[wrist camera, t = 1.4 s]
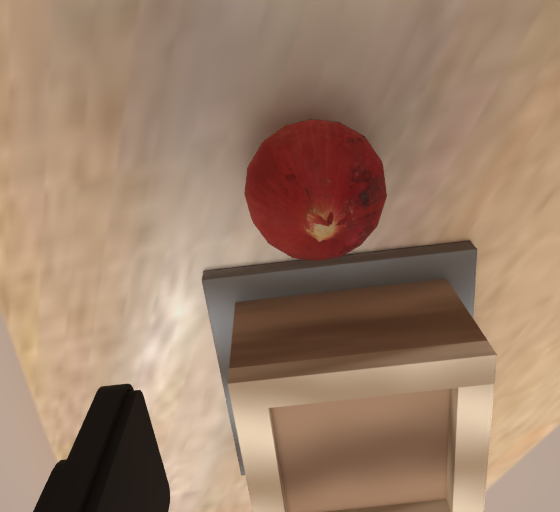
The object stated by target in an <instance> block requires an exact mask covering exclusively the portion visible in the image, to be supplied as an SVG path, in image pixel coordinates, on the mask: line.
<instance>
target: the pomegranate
mask: <svg viewBox="0 0 560 512" xmlns="http://www.w3.org/2000/svg"><path fill="white" fill-rule="evenodd" d="M245 197H246V200H247V204H248V208H249V211H250V215H251V218H252V220H253V223H254V224H255V226H256V227H257V228H258V230H259V231H260V232H261V234H262V235H263V236H264V238H265V239H266V240H267V242H268V243H269V244H271V245H272V246H274V247H275V248H277V249H279V250H280V251H282V252H284V253H285V254H287V255H289V256H291V257H292V258H298V259H304V260H311V261H322V260H327V259H332V258H338V257H341V256H343V255H344V254H346V253H348V252H350V251H351V250H353V249H355V248H357V247H358V246H360V245H361V244H362V243H363V242H364V241H365V240H366V238H367V237H368V236H369V235H370V234H371V233H372V232H373V230H374V229H375V228H376V227H377V225H378V222H379V219H380V216H381V213H382V210H383V206H384V203H385V200H386V197H387V194H386V186H385V178H384V170H383V164H382V161H381V159H380V158H379V157H378V155H377V154H376V152H375V151H374V149H373V148H372V146H371V145H370V144H369V142H368V141H367V139H366V138H365V136H363V135H361V134H359V133H357V132H356V131H354V130H352V129H350V128H348V127H347V126H345V125H343V124H341V123H339V122H331V121H322V120H314V119H310V120H306V121H302V122H298V123H293V124H289V125H285V126H284V127H282V128H281V129H280V130H278V131H277V132H276V133H274V134H273V135H271V136H270V137H269V138H267V139H266V140H265V141H264V142H263V143H262V144H261V146H260V147H259V149H258V151H257V153H256V154H255V156H254V158H253V159H252V161H251V162H250V164H249V166H248V169H247V178H246V186H245Z"/></svg>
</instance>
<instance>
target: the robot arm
mask: <svg viewBox="0 0 560 512" xmlns="http://www.w3.org/2000/svg"><path fill="white" fill-rule="evenodd" d="M169 504H170V488H169V484H168V480H167V477H166V473H165V470H164V466H163V463H162V459H161V456H160V452H159V449H158V445H157V442H156V438H155V434H154V431H153V427H152V424H151V420H150V417H149V413H148V410H147V406H146V403H145V399H144V396H143V393H142V392H141V390H135V391H134V390H133V387H132V386H131V384H121V385H111V386H102V387H100V388H99V389H98V391H97V393H96V395H95V397H94V400H93V402H92V404H91V406H90V409H89V411H88V413H87V415H86V418H85V420H84V422H83V424H82V427H81V429H80V431H79V433H78V436H77V438H76V440H75V442H74V445H73V447H72V449H71V451H70V454H69V456H68V458H67V460H61V461H59V462H58V463H57V464H56V465H55V467H54V469H53V470H52V472H51V474H50V476H49V479H48V481H47V483H46V485H45V487H44V489H43V491H42V494H41V496H40V498H39V500H38V502H37V504H36V507H35V509H34V511H33V512H168V510H169Z"/></svg>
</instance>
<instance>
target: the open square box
mask: <svg viewBox="0 0 560 512" xmlns="http://www.w3.org/2000/svg"><path fill="white" fill-rule="evenodd" d="M476 259H477V248H476V247H475V246H474V245H473V244H472V243H471V241H465V242H456V243H448V244H439V245H430V246H421V247H412V248H404V249H395V250H386V251H377V252H368V253H359V254H351V255H343V256H341V257H338V258H332V259H327V260H322V261H311V260H298V261H289V262H280V263H271V264H263V265H254V266H245V267H236V268H227V269H219V270H210V271H204V272H203V277H202V284H203V289H204V294H205V299H206V304H207V309H208V314H209V319H210V323H211V328H212V333H213V338H214V343H215V348H216V353H217V358H218V363H219V368H220V373H221V377H222V382H223V387H224V392H225V397H226V402H227V407H228V412H229V417H230V422H231V427H232V432H233V436H234V441H235V446H236V451H237V456H238V461H239V466H240V471H241V475H246V480H247V485H248V490H249V495H250V500H251V505H252V510H253V512H484V501H485V489H486V478H487V466H488V454H489V442H490V430H491V418H492V406H493V394H494V383H495V371H496V359H497V354H496V353H495V351H494V350H493V348H492V347H491V345H490V344H489V342H488V341H487V339H486V338H485V336H484V335H483V333H482V332H481V330H480V328H479V327H478V325H477V324H476V322H475V321H474V319H473V311H474V294H475V277H476Z"/></svg>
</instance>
